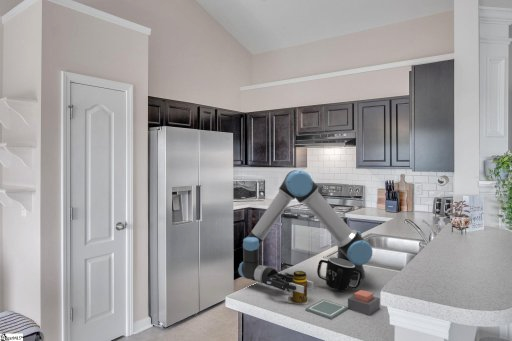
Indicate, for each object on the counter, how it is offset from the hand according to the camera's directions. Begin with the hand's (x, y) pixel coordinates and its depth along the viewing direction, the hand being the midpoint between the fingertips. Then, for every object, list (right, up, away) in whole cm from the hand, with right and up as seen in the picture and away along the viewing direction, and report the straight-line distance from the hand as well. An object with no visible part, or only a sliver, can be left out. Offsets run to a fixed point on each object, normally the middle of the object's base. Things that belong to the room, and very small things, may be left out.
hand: (308, 287), depth 141 cm
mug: (+15, -5, +16) cm, 23 cm away
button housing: (+21, -6, -5) cm, 23 cm away
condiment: (-4, -7, +3) cm, 8 cm away
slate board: (+7, -7, -6) cm, 11 cm away
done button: (+21, -3, -5) cm, 22 cm away
